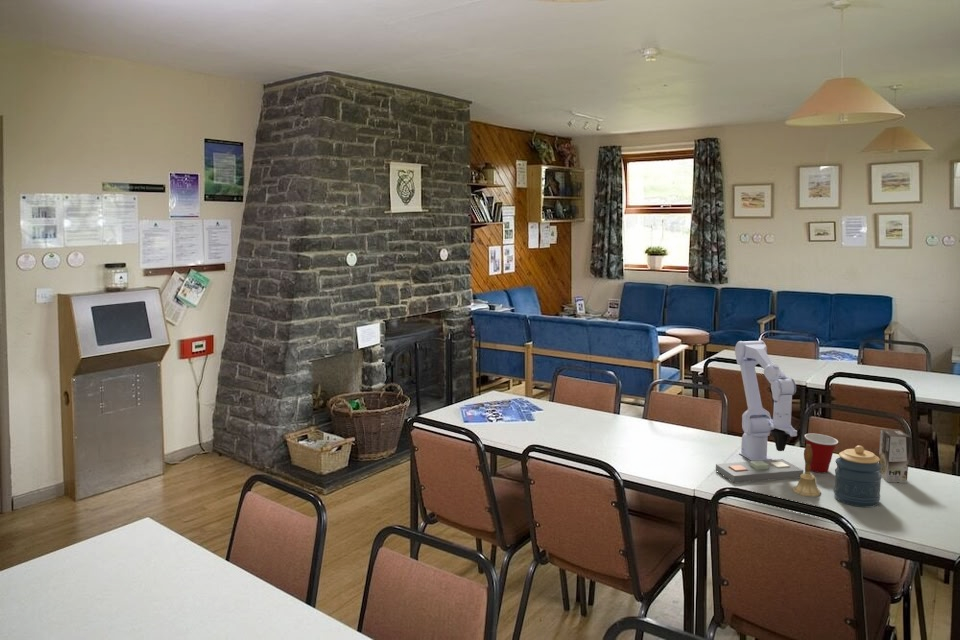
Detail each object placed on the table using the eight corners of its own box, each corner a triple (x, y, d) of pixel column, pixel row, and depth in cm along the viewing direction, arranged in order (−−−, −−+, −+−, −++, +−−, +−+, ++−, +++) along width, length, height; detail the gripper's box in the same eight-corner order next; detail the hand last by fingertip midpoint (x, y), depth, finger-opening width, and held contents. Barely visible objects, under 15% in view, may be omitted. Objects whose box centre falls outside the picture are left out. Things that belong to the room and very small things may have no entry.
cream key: (770, 468, 246) (770, 462, 245) (781, 467, 246) (781, 461, 246) (777, 472, 241) (777, 466, 241) (789, 471, 242) (789, 465, 242)
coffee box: (907, 483, 232) (911, 436, 230) (886, 482, 233) (890, 436, 231) (897, 474, 241) (900, 429, 239) (877, 472, 242) (880, 428, 240)
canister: (838, 488, 228) (841, 437, 226) (883, 498, 220) (887, 444, 218) (828, 501, 218) (832, 447, 216) (875, 511, 210) (879, 455, 208)
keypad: (715, 470, 246) (715, 464, 246) (782, 465, 251) (782, 458, 250) (733, 483, 234) (734, 475, 234) (802, 477, 239) (803, 470, 239)
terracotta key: (728, 471, 243) (728, 465, 242) (740, 470, 244) (740, 464, 243) (735, 476, 238) (735, 470, 238) (747, 475, 239) (747, 469, 239)
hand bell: (805, 498, 221) (807, 449, 219) (787, 488, 229) (789, 442, 227) (826, 495, 223) (829, 447, 221) (808, 486, 231) (810, 439, 229)
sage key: (749, 467, 244) (749, 461, 244) (761, 466, 245) (761, 460, 244) (756, 471, 240) (757, 465, 239) (768, 470, 240) (768, 464, 240)
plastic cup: (833, 477, 238) (835, 444, 236) (799, 471, 244) (801, 438, 243) (839, 468, 247) (841, 436, 245) (806, 463, 253) (808, 431, 251)
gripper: (759, 408, 247) (758, 444, 249) (784, 419, 233) (782, 457, 235) (777, 406, 249) (775, 443, 250) (803, 417, 234) (801, 456, 236)
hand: (780, 450), depth 243 cm, fingers closed
